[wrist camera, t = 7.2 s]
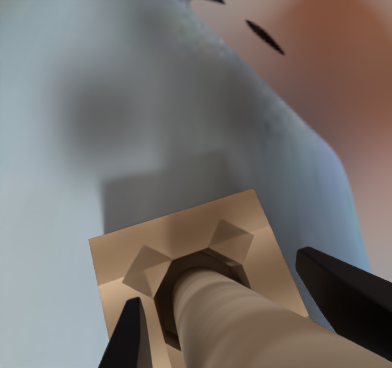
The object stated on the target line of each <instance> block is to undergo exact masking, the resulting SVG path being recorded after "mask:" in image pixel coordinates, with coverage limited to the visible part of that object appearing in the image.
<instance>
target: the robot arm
mask: <svg viewBox="0 0 392 368" xmlns="http://www.w3.org/2000/svg"><path fill="white" fill-rule="evenodd" d="M296 270H297V273H298V274H299V276H300V278H301V279H302V281H303V283H304V284H305V286H306V288H307V289H308V291H309V293H310V294H311V296H312V298H313V299H314V301H315V303H316V304H317V306H318V307H319V309H320V311H321V312H322V314H323V315H324V316H325V318H326V319H327V321H328V322H329V323H330V325H331V326H332V327H333V329H334V330H335V331H336V333H337V334H338V335H340V336H342V337H344V338H346V339H348V340H350V341H352V342H354V343H356V344H358V345H359V346H361V347H363V348H365V349H367V350H369V351H371V352H373V353H375V354H377V355H379V356H381V357H383V358H385V359H387V360H388V361H390V362H392V283H391V282H389V281H387V280H384V279H382V278H380V277H378V276H375V275H373V274H371V273H368V272H366V271H364V270H362V269H359V268H357V267H355V266H352V265H350V264H348V263H346V262H343V261H341V260H339V259H337V258H334V257H332V256H330V255H327V254H325V253H323V252H321V251H318V250H316V249H314V248H311V247H304V248H301V249H298V251H297V256H296ZM98 368H153V365H152V357H151V350H150V342H149V335H148V328H147V321H146V315H145V311H144V308H143V305H142V301H141V298H140V297H138V296H137V297H134V298H131V299H128V300H127V301H126V302H125V305H124V307H123V309H122V312H121V314H120V317H119V319H118V321H117V324H116V326H115V328H114V331H113V333H112V336H111V338H110V340H109V343H108V345H107V348H106V350H105V352H104V355H103V357H102V360H101V362H100V364H99V367H98Z"/></svg>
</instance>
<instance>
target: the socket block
mask: <svg viewBox="0 0 392 368" xmlns="http://www.w3.org/2000/svg"><path fill="white" fill-rule="evenodd" d="M88 240H89V245H90V249H91V254H92V259H93V264H94V269H95V274H96V278H97V283H98V288H99V293H100V298H101V302H102V307H103V312H104V317H105V322H106V327H107V331H108V336H109V340H110V338H111V336H112V333H113V331H114V328H115V326H116V324H117V321H118V319H119V317H120V314H121V312H122V309H123V307H124V305H125V302H126V301H127V300H128V299H131V298H134V297H137V296H138V297H140V298H141V301H142V305H143V308H144V311H145V315H146V321H147V328H148V335H149V342H150V350H151V357H152V365H153V368H185V364H184V360H183V355H182V351H181V346H180V342H179V337H178V333H177V328H176V324H175V319H174V315H173V310H172V306H171V291H172V287H173V284H174V282H175V281H176V279H177V278H178V276H179V275H180V274H181V273H182V272H184V271H185V270H187V269H189V268H192V267H196V266H203V267H207V268H210V269H212V270H214V271H216V272H218V273H220V274H222V275H224V276H226V277H228V278H230V279H231V280H233V281H235V282H237V283H239V284H241V285H243V286H245V287H247V288H249V289H251V290H253V291H255V292H257V293H259V294H261V295H262V296H264V297H266V298H268V299H270V300H272V301H274V302H276V303H278V304H280V305H282V306H284V307H286V308H288V309H290V310H292V311H294V312H295V313H297V314H299V315H301V316H303V317H305V318H307V319H309V320H311V319H310V317H309V315H308V312H307V310H306V308H305V305H304V303H303V301H302V298H301V296H300V294H299V292H298V289H297V287H296V285H295V282H294V280H293V278H292V275H291V273H290V271H289V268H288V266H287V264H286V262H285V259H284V257H283V255H282V252H281V250H280V248H279V245H278V243H277V241H276V238H275V236H274V234H273V232H272V229H271V227H270V225H269V222H268V220H267V218H266V215H265V213H264V211H263V208H262V206H261V204H260V202H259V199H258V197H257V195H256V192H255V190H254V188H253V189H249V190H246V191H243V192H240V193H236V194H233V195H230V196H227V197H224V198H220V199H217V200H214V201H211V202H207V203H204V204H201V205H198V206H195V207H191V208H188V209H185V210H182V211H179V212H175V213H172V214H169V215H166V216H162V217H159V218H156V219H153V220H150V221H146V222H143V223H140V224H137V225H133V226H130V227H127V228H124V229H121V230H117V231H114V232H111V233H108V234H104V235H101V236H98V237H95V238H92V239H88Z"/></svg>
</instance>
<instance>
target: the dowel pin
mask: <svg viewBox="0 0 392 368" xmlns="http://www.w3.org/2000/svg"><path fill="white" fill-rule="evenodd" d="M171 306H172V310H173V315H174V319H175V324H176V328H177V333H178V337H179V342H180V346H181V351H182V355H183V360H184V364H185V368H392V362H390V361H388V360H387V359H385V358H383V357H381V356H379V355H377V354H375V353H373V352H371V351H369V350H367V349H365V348H363V347H361V346H359V345H358V344H356V343H354V342H352V341H350V340H348V339H346V338H344V337H342V336H340V335H338V334H336V333H334V332H332V331H330V330H328V329H327V328H325V327H323V326H321V325H319V324H317V323H315V322H313V321H311V320H309V319H307V318H305V317H303V316H301V315H299V314H297V313H295V312H294V311H292V310H290V309H288V308H286V307H284V306H282V305H280V304H278V303H276V302H274V301H272V300H270V299H268V298H266V297H264V296H262V295H261V294H259V293H257V292H255V291H253V290H251V289H249V288H247V287H245V286H243V285H241V284H239V283H237V282H235V281H233V280H231V279H230V278H228V277H226V276H224V275H222V274H220V273H218V272H216V271H214V270H212V269H210V268H207V267H203V266H196V267H192V268H189V269H187V270H185V271H184V272H182V273H181V274H180V275H179V276H178V278H177V279H176V281H175V282H174V284H173V287H172V291H171Z"/></svg>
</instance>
